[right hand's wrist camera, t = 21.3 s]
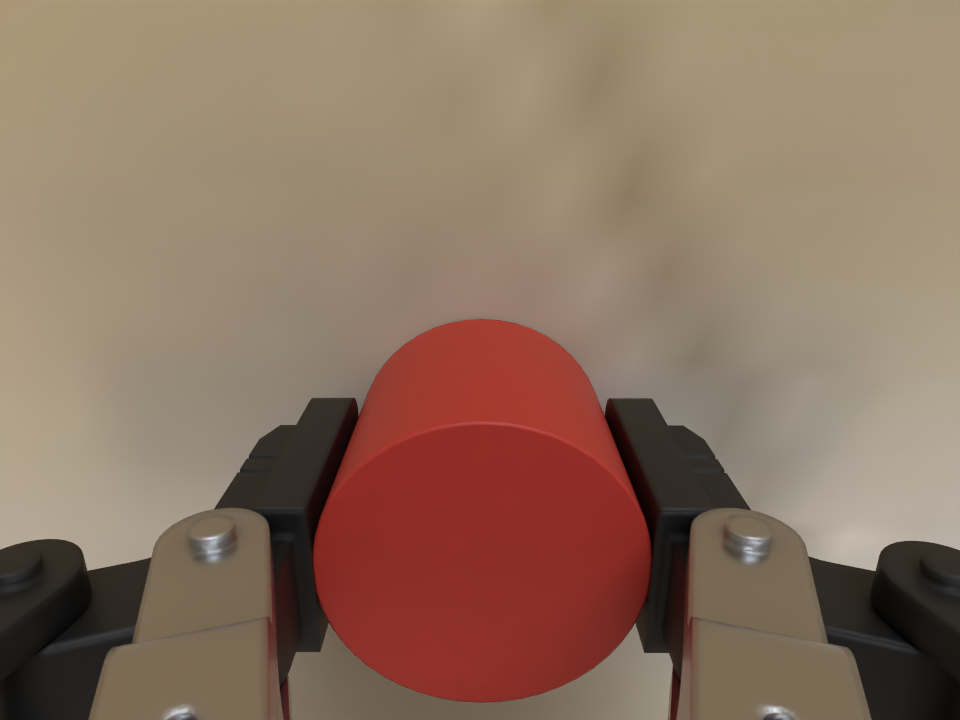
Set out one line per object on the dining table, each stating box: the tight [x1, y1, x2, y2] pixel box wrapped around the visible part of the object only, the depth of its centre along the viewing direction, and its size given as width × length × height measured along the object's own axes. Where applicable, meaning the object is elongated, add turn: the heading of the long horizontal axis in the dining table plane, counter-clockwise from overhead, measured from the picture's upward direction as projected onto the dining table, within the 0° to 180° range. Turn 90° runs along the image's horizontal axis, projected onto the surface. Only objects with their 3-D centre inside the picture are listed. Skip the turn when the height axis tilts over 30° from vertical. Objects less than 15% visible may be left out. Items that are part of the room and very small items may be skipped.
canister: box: [313, 319, 652, 702], centre depth 11 cm, size 4×4×4 cm
